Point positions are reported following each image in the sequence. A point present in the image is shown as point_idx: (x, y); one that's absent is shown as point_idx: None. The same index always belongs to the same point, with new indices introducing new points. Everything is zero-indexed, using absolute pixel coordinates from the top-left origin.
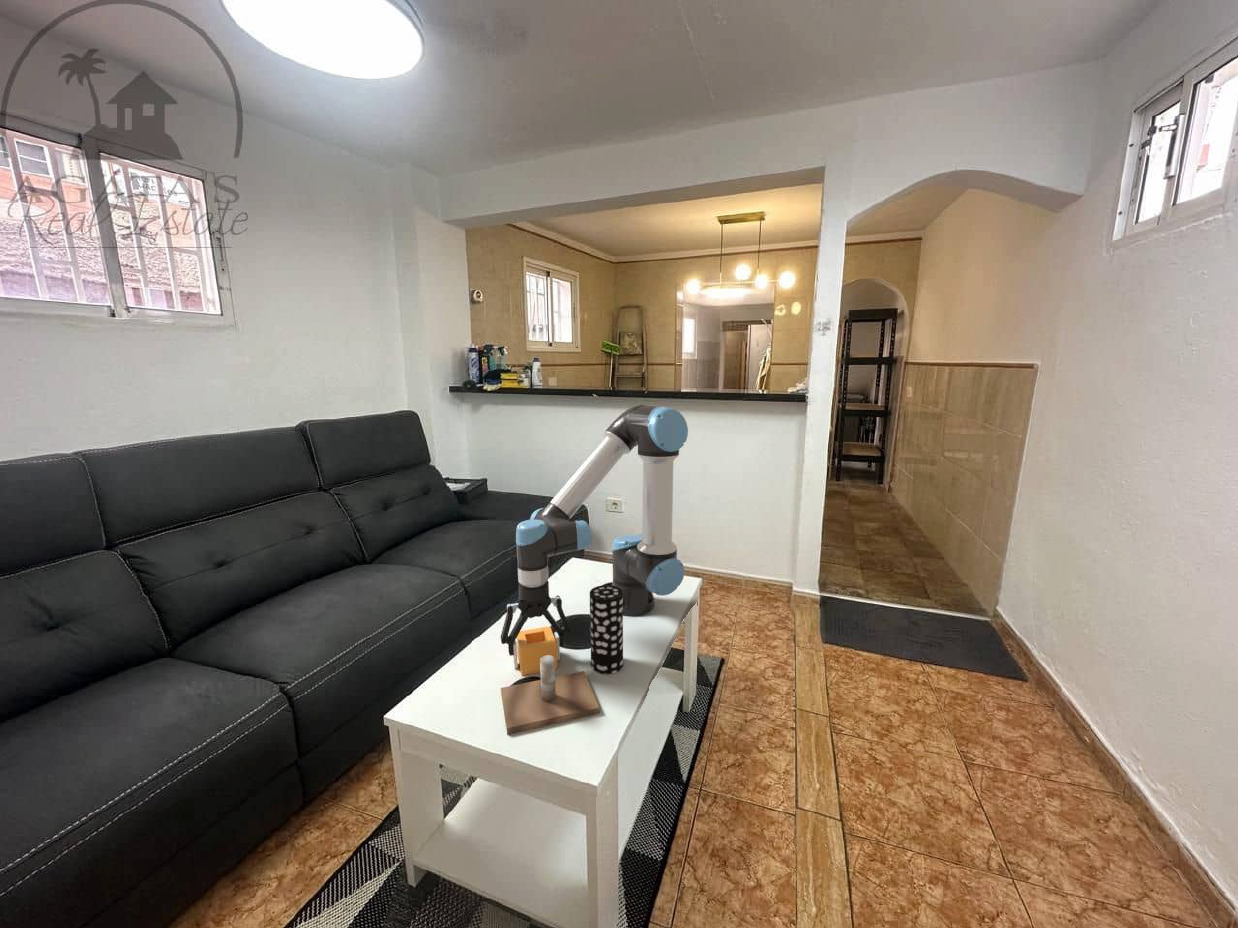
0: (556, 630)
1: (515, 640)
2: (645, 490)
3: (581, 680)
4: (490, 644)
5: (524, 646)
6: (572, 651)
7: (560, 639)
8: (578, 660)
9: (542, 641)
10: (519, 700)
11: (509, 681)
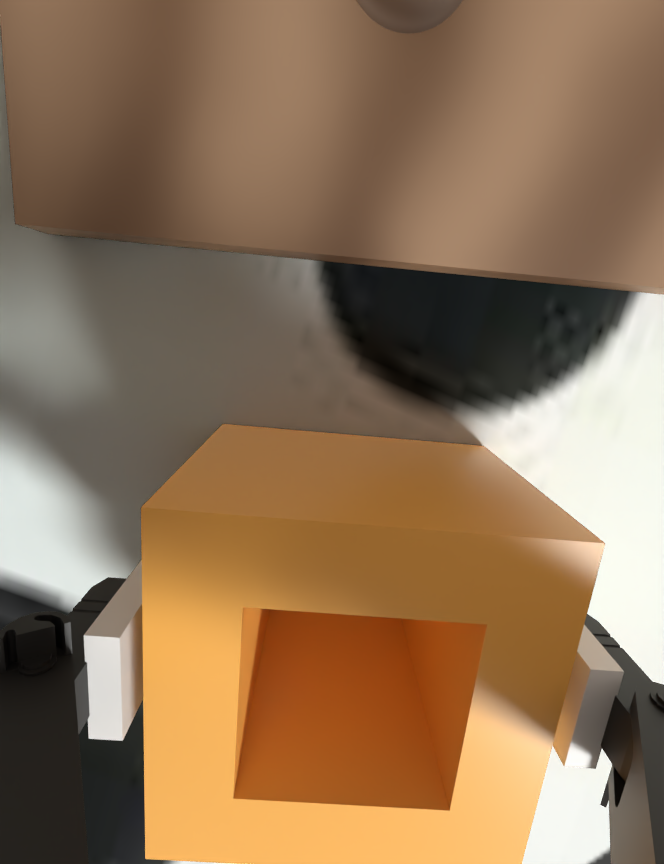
0: (64, 721)
1: (571, 744)
2: None
3: (60, 82)
4: (558, 828)
5: (535, 592)
6: (70, 576)
7: (91, 624)
8: (48, 456)
9: (269, 695)
10: (655, 34)
11: (580, 413)
